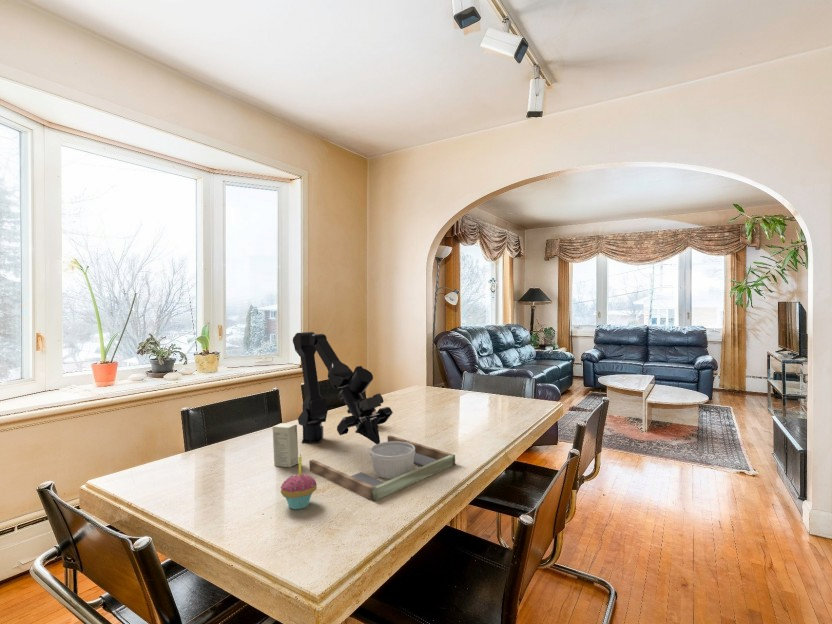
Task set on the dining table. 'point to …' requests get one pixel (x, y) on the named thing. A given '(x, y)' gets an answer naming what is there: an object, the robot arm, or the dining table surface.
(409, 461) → the ramekin
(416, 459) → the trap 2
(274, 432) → the skincare box
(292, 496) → the cupcake
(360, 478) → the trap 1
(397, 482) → the wooden u-shaped frame
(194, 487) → the dining table surface
